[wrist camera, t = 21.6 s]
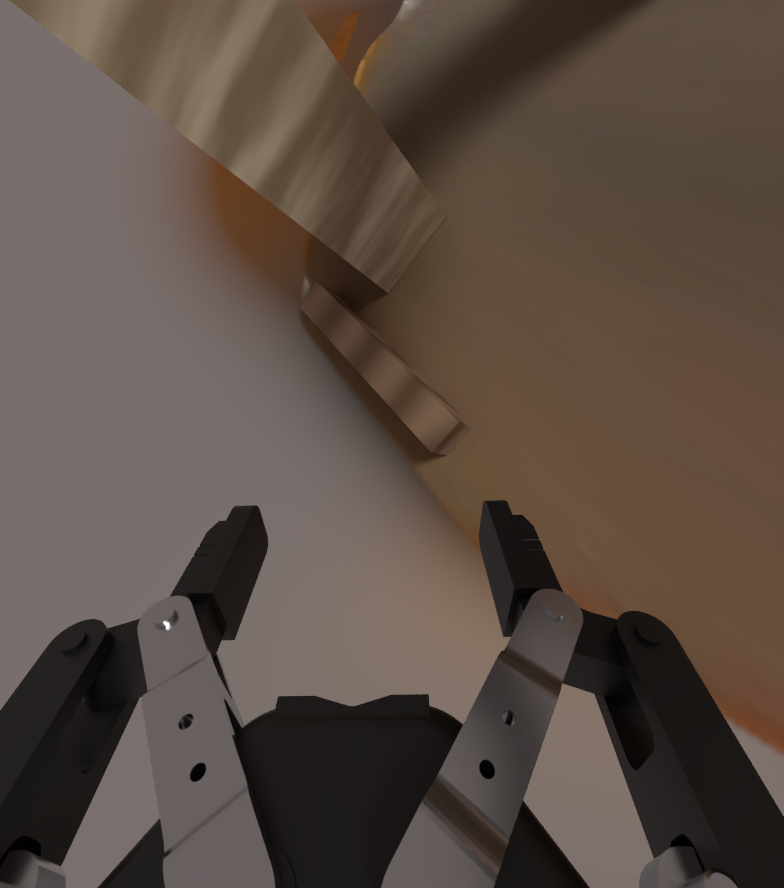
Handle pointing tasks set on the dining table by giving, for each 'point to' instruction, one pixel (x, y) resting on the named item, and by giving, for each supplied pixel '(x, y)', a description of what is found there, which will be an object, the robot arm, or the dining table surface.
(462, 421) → the bar
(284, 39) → the stand
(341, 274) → the dining table surface
